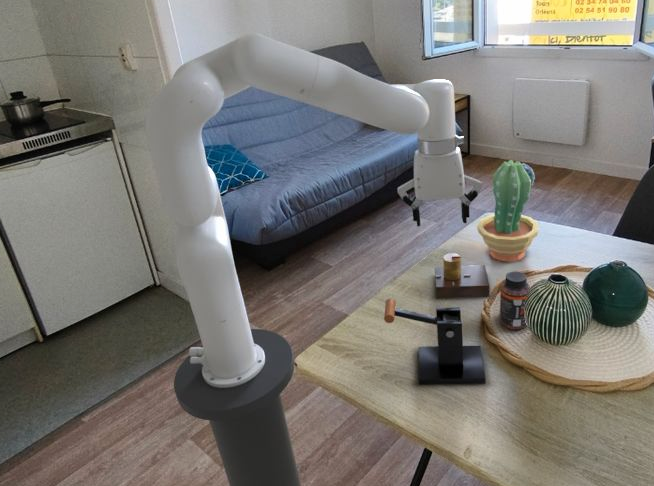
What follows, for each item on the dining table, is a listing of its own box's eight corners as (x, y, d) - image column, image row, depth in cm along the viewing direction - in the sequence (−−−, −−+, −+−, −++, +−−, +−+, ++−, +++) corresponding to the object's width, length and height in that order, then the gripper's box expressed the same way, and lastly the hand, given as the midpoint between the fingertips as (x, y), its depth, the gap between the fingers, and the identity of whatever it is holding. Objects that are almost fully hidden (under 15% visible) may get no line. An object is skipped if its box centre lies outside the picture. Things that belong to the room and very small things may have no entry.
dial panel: (436, 298, 116) (435, 286, 114) (434, 277, 124) (434, 266, 123) (489, 296, 114) (489, 284, 113) (484, 275, 123) (484, 264, 121)
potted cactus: (544, 266, 124) (550, 171, 113) (481, 269, 125) (480, 175, 115) (530, 237, 138) (534, 150, 127) (473, 240, 139) (472, 154, 129)
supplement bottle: (524, 334, 102) (526, 287, 97) (496, 326, 105) (496, 280, 100) (532, 317, 106) (534, 271, 102) (504, 310, 109) (505, 266, 104)
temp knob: (444, 280, 116) (443, 261, 114) (443, 271, 120) (442, 252, 118) (461, 280, 116) (461, 260, 114) (460, 271, 120) (459, 251, 118)
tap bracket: (418, 384, 92) (415, 332, 87) (419, 351, 100) (415, 302, 95) (485, 383, 90) (485, 330, 86) (480, 350, 99) (479, 300, 94)
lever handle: (382, 323, 89) (385, 312, 88) (384, 306, 94) (387, 296, 93) (455, 339, 89) (459, 329, 88) (453, 322, 94) (457, 311, 93)
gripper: (478, 135, 102) (480, 211, 109) (393, 142, 103) (400, 217, 111) (484, 147, 95) (485, 227, 102) (392, 154, 97) (400, 233, 104)
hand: (441, 222), depth 106 cm, fingers open, 9 cm apart
